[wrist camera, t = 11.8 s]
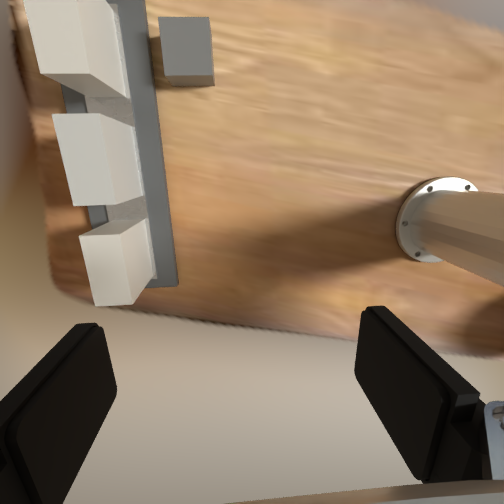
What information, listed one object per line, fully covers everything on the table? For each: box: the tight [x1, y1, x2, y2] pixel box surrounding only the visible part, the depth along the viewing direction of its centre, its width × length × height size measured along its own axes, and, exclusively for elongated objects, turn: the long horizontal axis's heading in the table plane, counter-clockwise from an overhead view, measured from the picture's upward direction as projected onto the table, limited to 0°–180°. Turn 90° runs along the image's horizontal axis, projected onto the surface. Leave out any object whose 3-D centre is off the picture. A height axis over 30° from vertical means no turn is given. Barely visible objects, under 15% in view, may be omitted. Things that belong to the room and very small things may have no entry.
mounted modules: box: [23, 0, 153, 306], centre depth 28 cm, size 4×30×8 cm, turn 1°
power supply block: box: [158, 17, 215, 86], centre depth 29 cm, size 5×5×4 cm
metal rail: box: [84, 4, 158, 279], centre depth 32 cm, size 5×31×1 cm, turn 1°
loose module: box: [52, 113, 142, 206], centre depth 28 cm, size 4×8×8 cm, turn 2°
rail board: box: [61, 0, 179, 288], centre depth 33 cm, size 10×34×1 cm, turn 1°
